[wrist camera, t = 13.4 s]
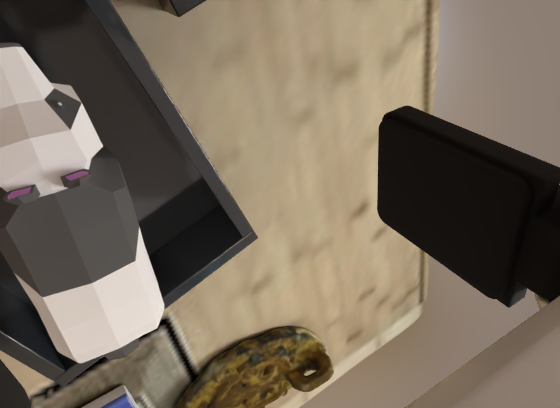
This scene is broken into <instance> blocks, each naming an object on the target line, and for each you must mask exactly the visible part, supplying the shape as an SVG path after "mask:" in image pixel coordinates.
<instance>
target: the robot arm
mask: <svg viewBox="0 0 560 408" xmlns="http://www.w3.org/2000/svg"><path fill="white" fill-rule="evenodd" d="M559 184H560V168H559V167H557V166H554V165H552V164H550V163H547V162H545V161H542V160H540V159H537V158H535V157H532V156H530V155H528V154H525V153H522V152H520V151H518V150H515V149H513V148H511V147H508V146H506V145H503V144H501V143H498V142H496V141H493V140H491V139H488V138H486V137H484V136H481V135H479V134H477V133H474V132H472V131H469V130H467V129H464V128H462V127H459V126H457V125H455V124H452V123H450V122H447V121H445V120H442V119H440V118H438V117H435V116H433V115H430V114H428V113H425V112H423V111H421V110H418V109H416V108H413V107H411V106H403V107H401V108H398V109H396V110H393V111H391V112H388V113H386V114H385V115H384V117H383V119H382V122H381V123H380V125H379V145H378V203H377V210H378V214H379V216H380V218H381V220H382V221H383V222H384V223H385V224H387V225H388V226H390V227H391V228H392V229H394V230H395V231H397V232H398V233H399V234H401V235H402V236H404V237H405V238H406V239H408V240H409V241H410V242H412V243H413V244H415V245H416V246H417V247H419V248H420V249H422V250H423V251H424V252H426V253H427V254H429V255H430V256H431V257H433V258H434V259H436V260H437V261H438V262H440V263H441V264H443V265H444V266H445V267H447V268H448V269H449V270H451V271H452V272H454V273H455V274H456V275H458V276H459V277H461V278H462V279H463V280H465V281H466V282H468V283H469V284H470V285H472V286H473V287H474V288H476V289H477V290H479V291H480V292H481V293H483V294H484V295H486V296H487V297H489V298H492V299H497V300H498V301H500V302H501V303H503V304H504V305H506V306H507V307H508V308H509V307H511V306H512V305H514V304H515V303H517V302H518V301H520V300H521V299H522V298H524V297H525V294H526V291H527V288H528V289H529V290H531V291H533V292H534V294H535V298H536V301H537V303H538V306H539V308H540V310H539V311H538V312H537V313H535V314H534V315H533V316H531V317H530V318H528V319H527V320H526V321H524V322H523V323H521V324H520V325H519V326H517V327H516V328H514V329H513V330H512V331H510V332H509V333H507V334H506V335H505V336H503V337H502V338H500V339H499V340H498V341H497V342H495V343H493V344H492V345H491V346H489V347H488V348H487V349H485V350H484V351H482V352H481V353H480V354H478V355H477V356H475V357H474V358H473V359H471V360H470V361H469V362H467V363H466V364H465V365H463V366H462V367H460V368H459V369H458V370H456V371H455V372H453V373H452V374H451V375H449V376H448V377H447V378H445V379H444V380H443V381H441V382H440V383H438V384H437V385H435V386H434V387H433V388H431V389H430V390H429V391H427V392H426V393H424V394H423V395H422V396H420V397H419V398H418V399H416V400H415V401H413V402H412V403H411V404H409V405H408V406H407V407H405V408H560V185H559ZM0 408H31V406H30V402H29V398H28V396H27V393H26V391H25V390H24V388H23V387H22V385H21V384H20V383H19V382H18V380H17V379H16V378H15V377H14V375H13V374H12V373H11V372H10V371H9V369H8V368H7V367H6V366H5V364H4V363H3V362H2V361H1V360H0Z"/></svg>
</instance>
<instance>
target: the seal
mask: <svg viewBox="0 0 560 408" xmlns="http://www.w3.org/2000/svg"><path fill="white" fill-rule="evenodd" d="M325 352H326V348H325V346H324V344H323V343H322V341H321V340H320V339H319V338H318V337H317V336H316V335H315V334H314V333H312V332H311V331H309V330H307V329H305V328H301V327H293V326H288V327H281V328H278V329H273V330H271V331H269V332H268V333H266V334H264V335H262V336H261V337H257V338H254V339H251V340H245V341H243V342H241V343H240V344H238V345H237V346H235V347H233V348H232V349H230V350H228V351H226V352H224V353H222V354H221V355H220V356H219V357H217V358H215V359H214V360H213V361H212V362H211V363H210V364H209V365H208V366H207V367H206V368H205V370H204V371H203V372H202V373H201V374H200V375H199V376H198V377H197V379H196V380H195V381H194V382H193V383H191V384H190V386H189V387H188V388H187V389H186V391H185V393H184V395H183V396H182V397H181V398H180V400H179V401H178V403H177V406H176V408H265V406H266V405H267V404H269V403H271V402H273V401H275V400H276V399H278V398H279V397H280V396H285V395H286V394H287V391H288V390H289V389H290V388H291V387H293V388H295V389H297V390H299V391H303V392H310V391H312V390H314V389H315V388H317V387H318V386H320V385H322V384H323V383H325V382H327V381H328V380H329V379H330V378H331V377H332V376H333V373H334V370H333V365H332V361H331V359H330V358H329V356H328V355H327V354H326V353H325ZM310 370H317V371H315V372H314V373H312V374H310V375H308V376H304V374H305V373H306V372H307V371H310Z"/></svg>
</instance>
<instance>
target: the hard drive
mask: <svg viewBox="0 0 560 408" xmlns="http://www.w3.org/2000/svg"><path fill="white" fill-rule="evenodd" d="M81 408H139V407H138V406H137V404H136V402H135V401H134V399H133V398H132V396H131V394H130V393H129V391H128V390H127V388H126V387H125V385H124V384H123V385H121V386H119V387H117V388H115V389H114V390H112V391H110V392H108V393H107V394H105V395H103V396H101V397H99V398H98V399H96V400H94V401H92V402H90V403H89V404H87V405H85V406H83V407H81Z"/></svg>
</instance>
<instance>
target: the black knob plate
mask: <svg viewBox="0 0 560 408" xmlns="http://www.w3.org/2000/svg"><path fill="white" fill-rule="evenodd" d="M204 1H206V0H159V2H160V4H161V6H162V7H163V9H164V11H166V12H168V13H171V14H173V15H175V16H178V17H180V16H182V15H183V14H185V13H187V12H188V11H190V10H191V9H193V8H195V7H196V6H198V5H199V4H201V3H203V2H204Z"/></svg>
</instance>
